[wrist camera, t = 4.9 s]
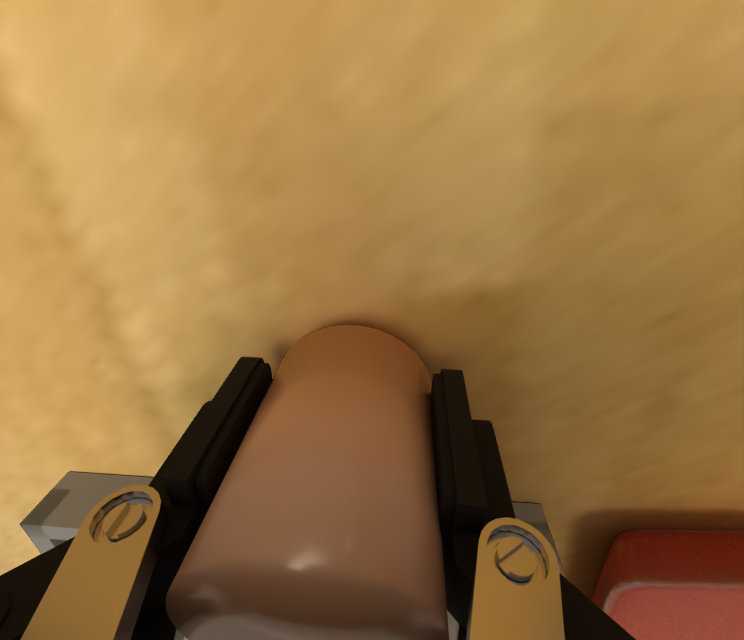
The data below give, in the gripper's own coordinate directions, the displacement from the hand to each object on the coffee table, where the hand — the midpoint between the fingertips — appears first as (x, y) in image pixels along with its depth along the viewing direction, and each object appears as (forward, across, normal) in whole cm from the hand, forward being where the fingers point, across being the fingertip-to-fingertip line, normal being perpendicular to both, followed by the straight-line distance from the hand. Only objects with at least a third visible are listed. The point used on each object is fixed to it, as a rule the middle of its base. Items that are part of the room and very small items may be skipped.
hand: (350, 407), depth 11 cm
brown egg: (+1, 0, 0) cm, 1 cm away
